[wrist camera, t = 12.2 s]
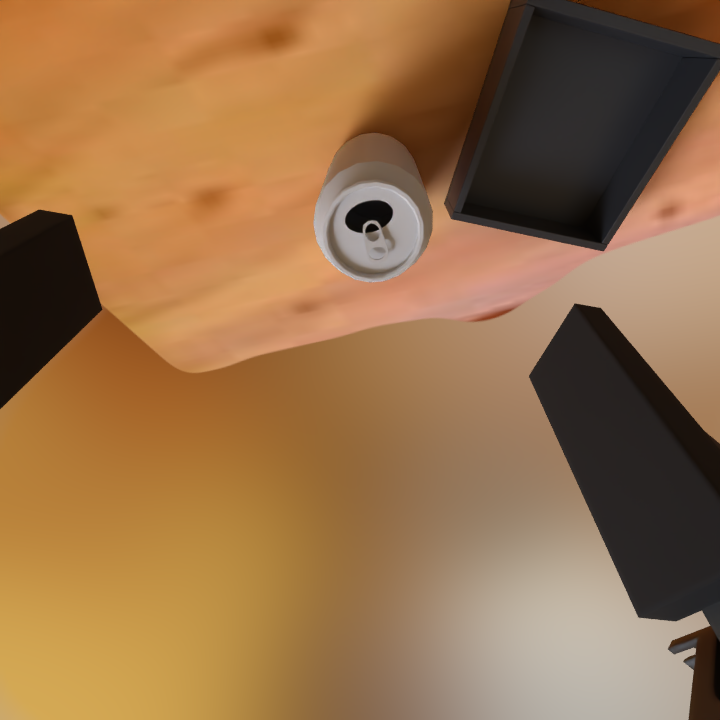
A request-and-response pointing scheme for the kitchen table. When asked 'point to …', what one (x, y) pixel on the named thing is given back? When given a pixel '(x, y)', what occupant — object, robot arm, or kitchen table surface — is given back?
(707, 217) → the kitchen table surface
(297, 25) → the kitchen table surface
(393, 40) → the kitchen table surface
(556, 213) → the bin
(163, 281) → the kitchen table surface
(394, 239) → the can
